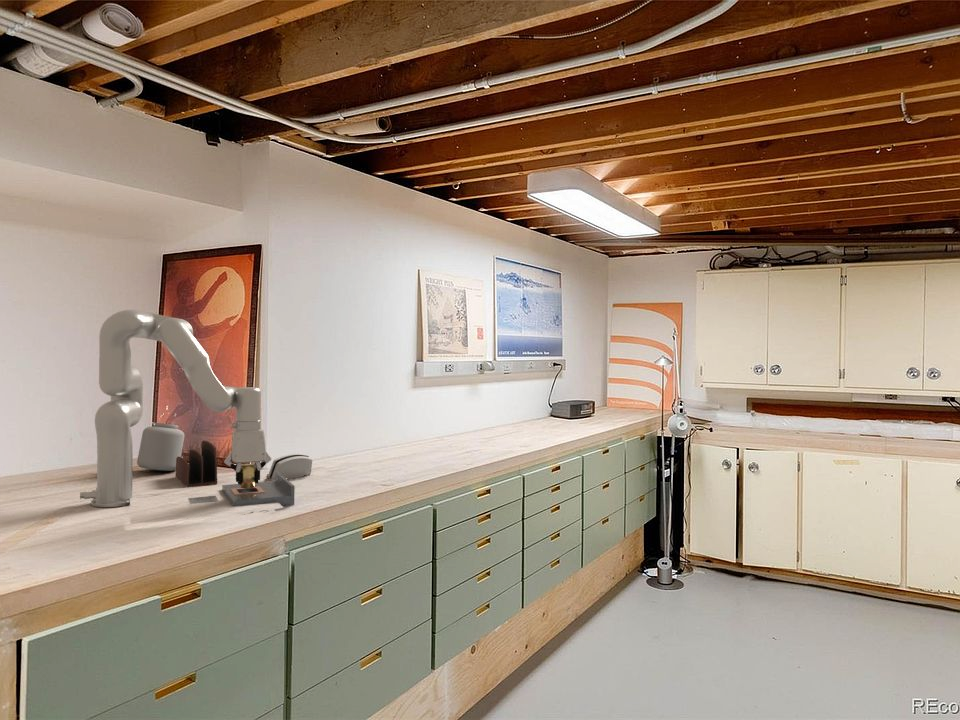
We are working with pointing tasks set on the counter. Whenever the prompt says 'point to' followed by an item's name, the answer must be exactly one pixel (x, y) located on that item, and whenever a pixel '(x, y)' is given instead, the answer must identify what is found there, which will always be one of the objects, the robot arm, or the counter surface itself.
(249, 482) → the barrel peg
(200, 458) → the letter holder
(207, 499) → the gray square slab
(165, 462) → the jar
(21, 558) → the counter surface
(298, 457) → the grey rounded block
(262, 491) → the plate
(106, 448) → the robot arm
